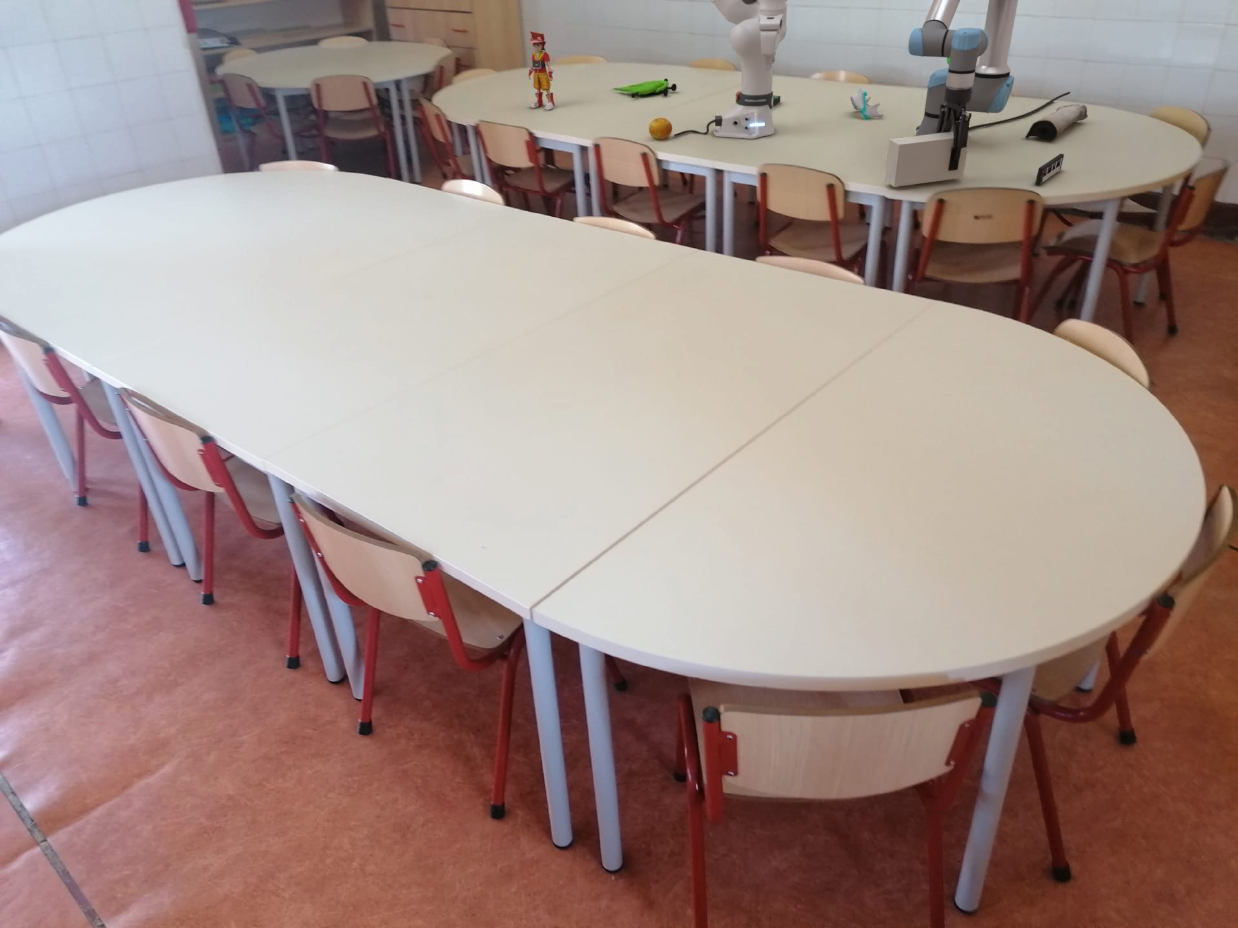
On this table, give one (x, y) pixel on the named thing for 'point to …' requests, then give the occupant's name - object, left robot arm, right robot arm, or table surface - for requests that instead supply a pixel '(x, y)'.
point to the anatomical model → (865, 105)
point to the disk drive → (776, 100)
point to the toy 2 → (648, 88)
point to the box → (922, 159)
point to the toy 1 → (541, 71)
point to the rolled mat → (1057, 122)
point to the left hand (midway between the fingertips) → (770, 66)
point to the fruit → (660, 128)
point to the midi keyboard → (1049, 169)
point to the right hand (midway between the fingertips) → (946, 166)
